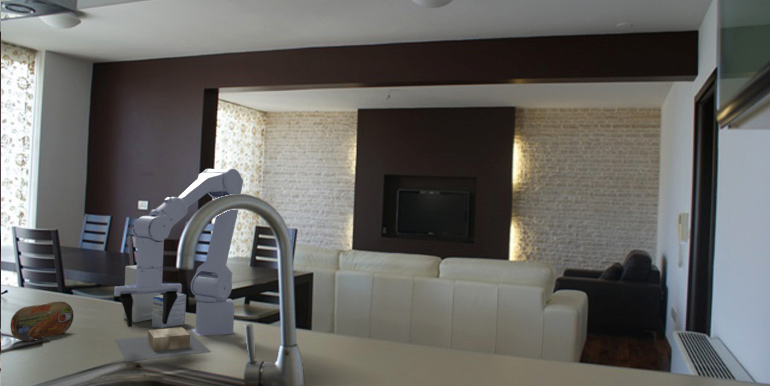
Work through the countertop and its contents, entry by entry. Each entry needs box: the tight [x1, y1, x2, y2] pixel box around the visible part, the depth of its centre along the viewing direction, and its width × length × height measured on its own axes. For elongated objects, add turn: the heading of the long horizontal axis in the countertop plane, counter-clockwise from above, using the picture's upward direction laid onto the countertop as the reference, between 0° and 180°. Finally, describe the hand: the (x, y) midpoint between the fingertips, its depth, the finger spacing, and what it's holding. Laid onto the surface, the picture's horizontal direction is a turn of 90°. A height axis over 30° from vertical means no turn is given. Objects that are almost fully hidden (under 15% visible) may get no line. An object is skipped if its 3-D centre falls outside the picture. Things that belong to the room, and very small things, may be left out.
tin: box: [10, 301, 74, 342], centre depth 139 cm, size 15×3×8 cm, turn 157°
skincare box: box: [123, 264, 162, 323], centre depth 163 cm, size 8×7×16 cm
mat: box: [114, 332, 212, 362], centre depth 133 cm, size 18×20×1 cm
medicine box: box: [151, 292, 187, 329], centre depth 155 cm, size 8×4×9 cm, turn 154°
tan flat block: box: [147, 327, 190, 351], centre depth 134 cm, size 3×8×8 cm
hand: (147, 324), depth 132 cm, fingers open, 7 cm apart
